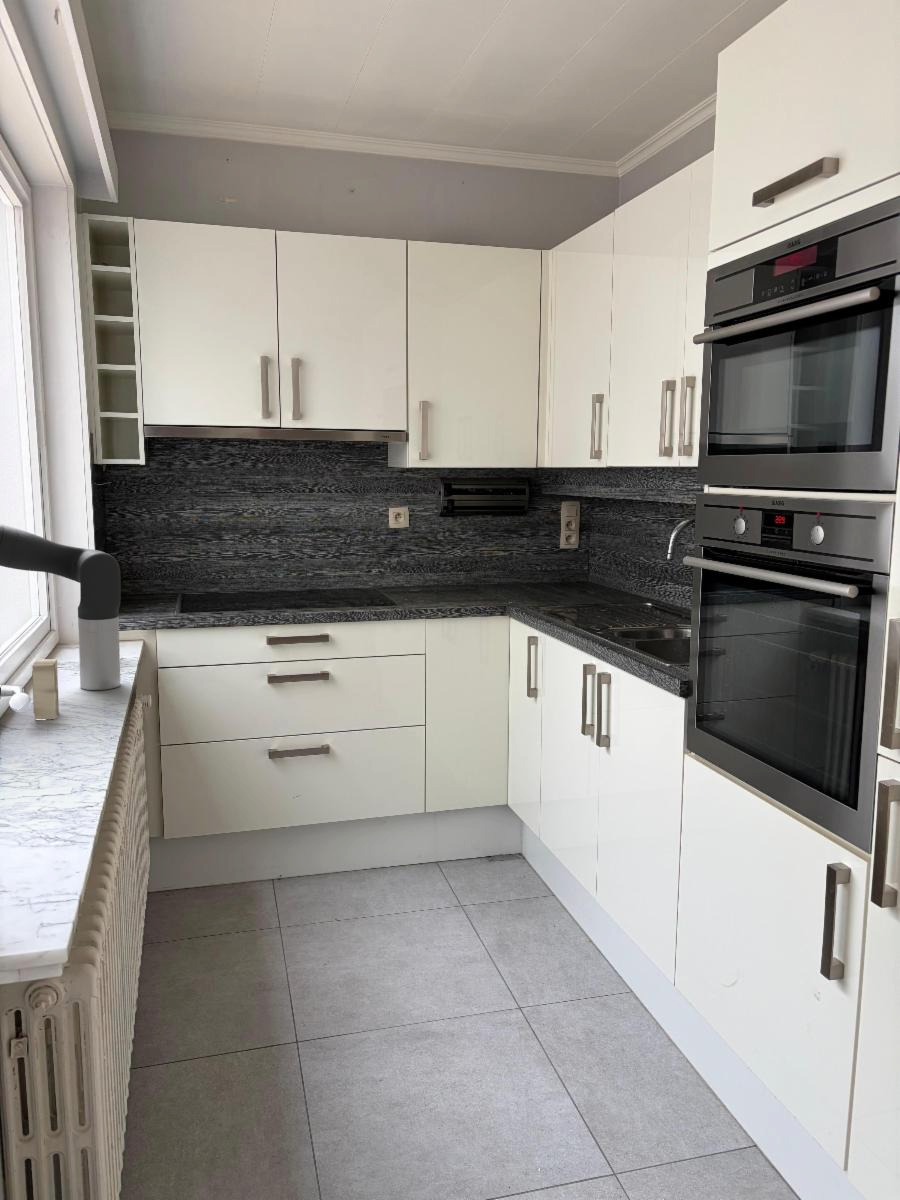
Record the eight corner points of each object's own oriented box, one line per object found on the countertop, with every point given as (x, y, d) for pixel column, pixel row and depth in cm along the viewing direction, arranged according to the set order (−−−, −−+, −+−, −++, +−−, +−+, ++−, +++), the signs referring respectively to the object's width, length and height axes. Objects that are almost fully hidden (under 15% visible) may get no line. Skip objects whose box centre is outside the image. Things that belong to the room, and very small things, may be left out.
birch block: (38, 713, 201) (36, 659, 199) (58, 712, 202) (56, 658, 200) (33, 720, 195) (31, 665, 193) (55, 719, 196) (52, 664, 194)
